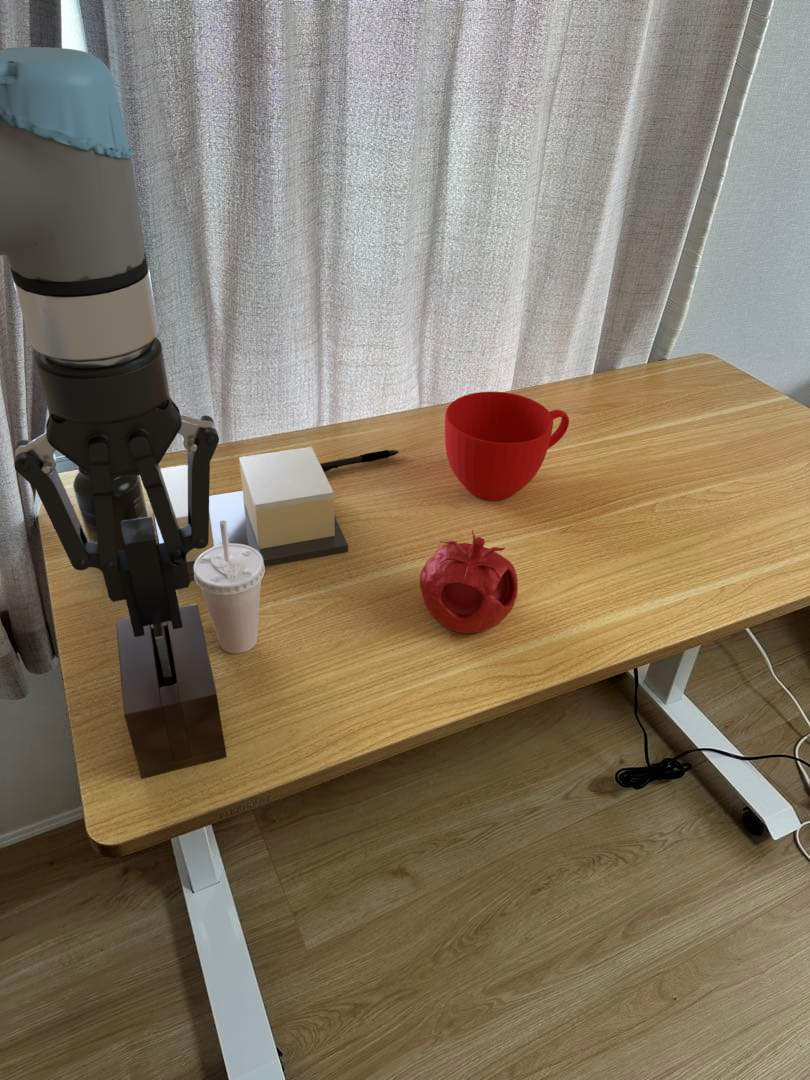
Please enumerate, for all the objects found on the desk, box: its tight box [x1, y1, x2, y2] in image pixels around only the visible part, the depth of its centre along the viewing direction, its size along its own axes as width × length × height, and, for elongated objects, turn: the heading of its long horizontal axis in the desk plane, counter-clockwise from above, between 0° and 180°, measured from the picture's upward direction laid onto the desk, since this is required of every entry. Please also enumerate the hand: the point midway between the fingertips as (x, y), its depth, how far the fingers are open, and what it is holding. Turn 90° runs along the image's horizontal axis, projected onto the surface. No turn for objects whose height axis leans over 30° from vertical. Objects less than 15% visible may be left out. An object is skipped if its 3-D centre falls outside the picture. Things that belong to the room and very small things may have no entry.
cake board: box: [153, 490, 349, 582], centre depth 93 cm, size 20×14×1 cm
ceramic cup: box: [444, 391, 570, 501], centre depth 100 cm, size 13×17×10 cm
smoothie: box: [194, 520, 266, 654], centre depth 75 cm, size 6×6×14 cm
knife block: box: [115, 603, 228, 779], centre depth 69 cm, size 7×11×8 cm, turn 19°
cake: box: [238, 446, 335, 549], centre depth 92 cm, size 9×10×6 cm
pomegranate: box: [418, 529, 519, 634], centre depth 81 cm, size 10×10×9 cm
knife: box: [121, 516, 175, 686], centre depth 64 cm, size 2×6×18 cm, turn 19°
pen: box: [319, 449, 399, 473], centre depth 104 cm, size 14×2×1 cm, turn 113°
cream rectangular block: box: [160, 464, 214, 562], centre depth 89 cm, size 4×10×6 cm, turn 19°
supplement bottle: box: [72, 465, 150, 551], centre depth 87 cm, size 7×7×12 cm
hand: (157, 620), depth 64 cm, fingers closed on knife, 2 cm apart
